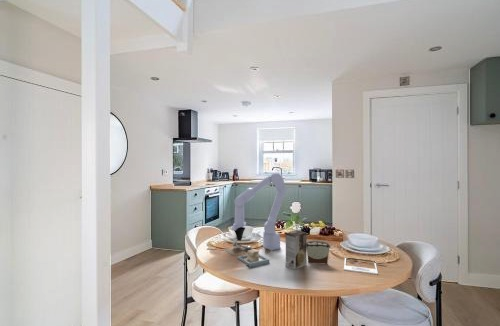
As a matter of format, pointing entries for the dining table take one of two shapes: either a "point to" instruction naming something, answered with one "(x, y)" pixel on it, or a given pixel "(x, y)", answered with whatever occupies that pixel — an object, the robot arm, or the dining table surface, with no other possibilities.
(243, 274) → the dining table surface
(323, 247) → the food container
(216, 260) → the dining table surface
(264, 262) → the tray
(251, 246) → the crank lever
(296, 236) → the coffee box
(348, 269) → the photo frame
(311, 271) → the dining table surface
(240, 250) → the board
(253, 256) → the block
